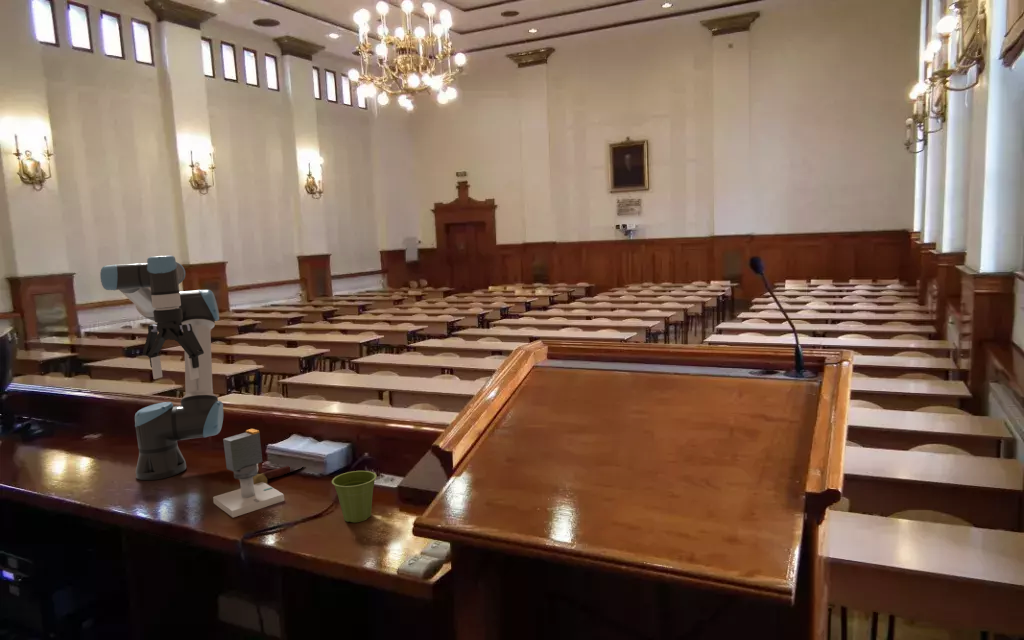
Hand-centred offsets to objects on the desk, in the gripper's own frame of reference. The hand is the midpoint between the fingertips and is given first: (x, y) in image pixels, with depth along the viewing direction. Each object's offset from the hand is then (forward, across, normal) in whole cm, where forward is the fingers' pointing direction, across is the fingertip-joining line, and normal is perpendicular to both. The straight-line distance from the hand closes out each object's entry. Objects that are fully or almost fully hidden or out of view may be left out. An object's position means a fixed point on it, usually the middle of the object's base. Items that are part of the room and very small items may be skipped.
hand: (176, 378), depth 197 cm
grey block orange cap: (+28, -22, +1) cm, 36 cm away
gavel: (+37, -18, -18) cm, 45 cm away
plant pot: (+37, -61, +5) cm, 71 cm away
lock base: (+37, -22, +1) cm, 43 cm away
